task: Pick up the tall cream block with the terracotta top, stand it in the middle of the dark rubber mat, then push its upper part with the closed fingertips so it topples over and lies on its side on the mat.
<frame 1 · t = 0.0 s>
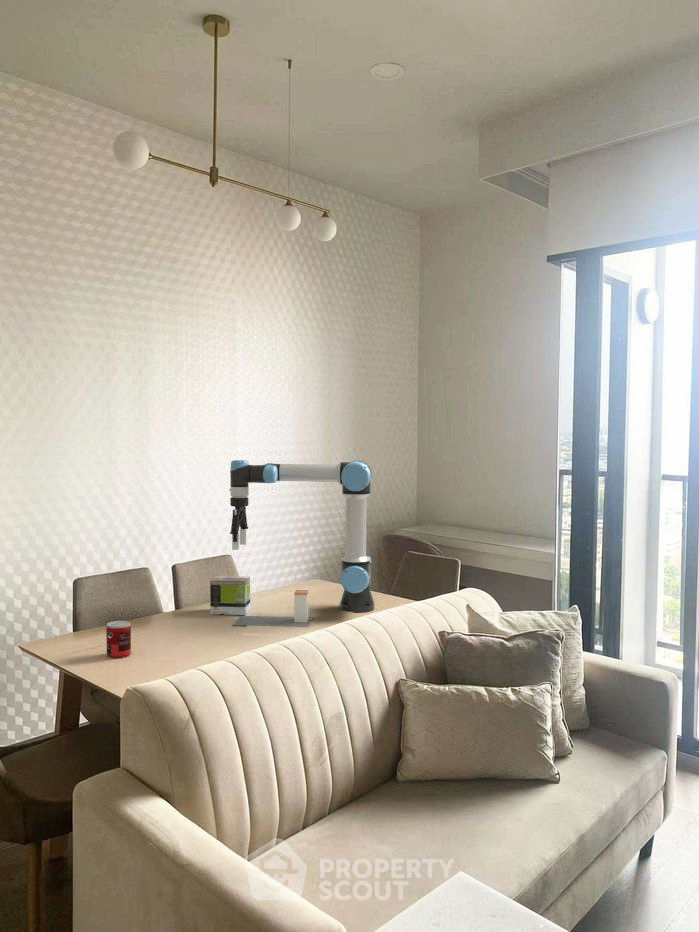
hand: (239, 547, 303), 28 cm above the table, tool pointing down, fingers open, 13 cm apart
cream block: (301, 620, 290), resting on rubber mat
tea box: (230, 612, 305), on the table
rubber mat: (273, 622, 289), on the table
canned food: (118, 655, 246), on the table
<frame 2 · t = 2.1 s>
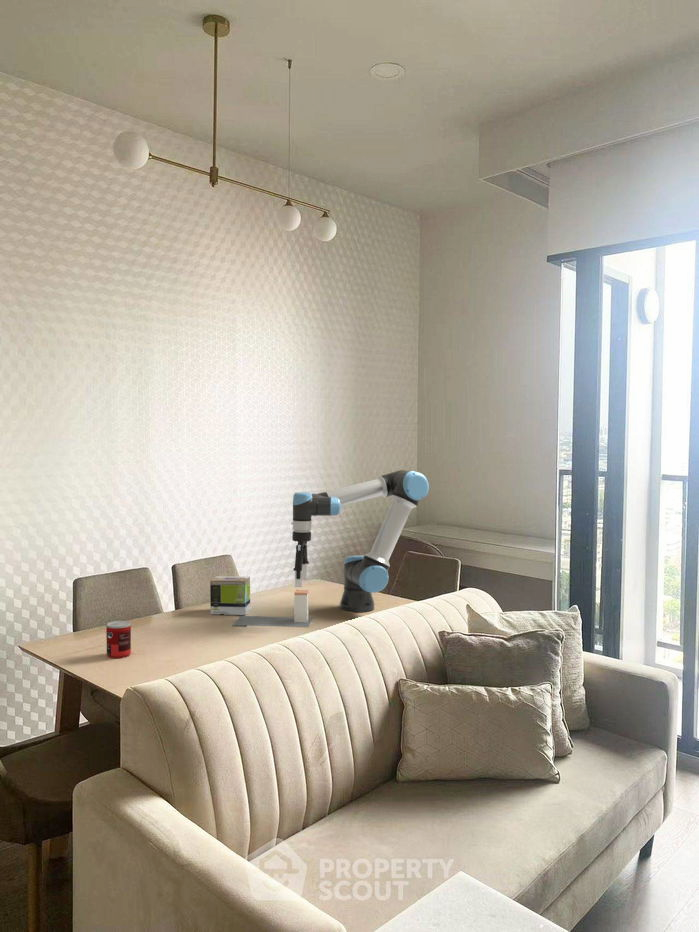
hand: (300, 583, 290), 16 cm above the table, tool pointing down, fingers open, 13 cm apart
nothing on the table moved.
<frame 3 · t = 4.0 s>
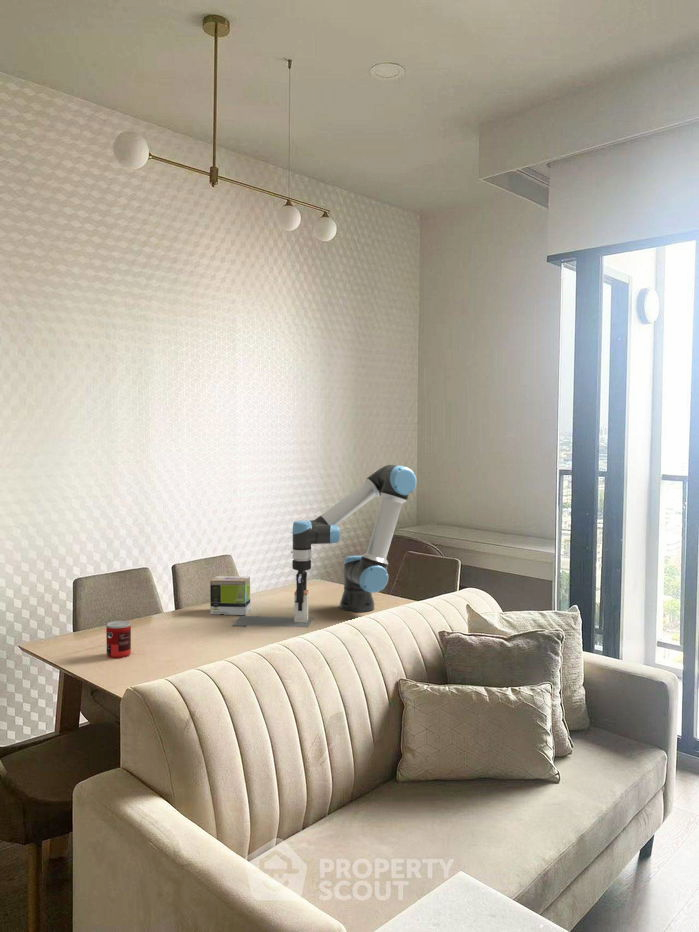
hand: (301, 616, 290), 2 cm above the table, tool pointing down, fingers closed on cream block, 5 cm apart
cream block: (301, 620, 290), point 1 cm above the table, touching gripper, rubber mat
everything else where it was.
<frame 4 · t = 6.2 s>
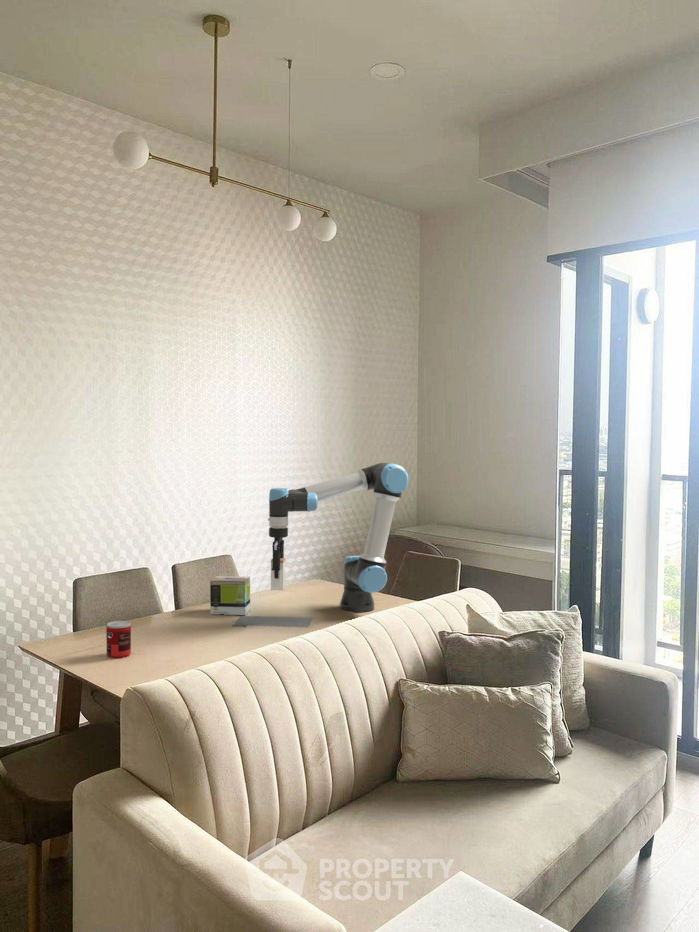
hand: (278, 584, 287), 16 cm above the table, tool pointing down, fingers closed on cream block, 5 cm apart
cream block: (278, 588, 287), point 14 cm above the table, touching gripper
everything else where it was.
when the fingers open (3 cm above the table, at t = 8.6 s): cream block stays where it is, resting on rubber mat.
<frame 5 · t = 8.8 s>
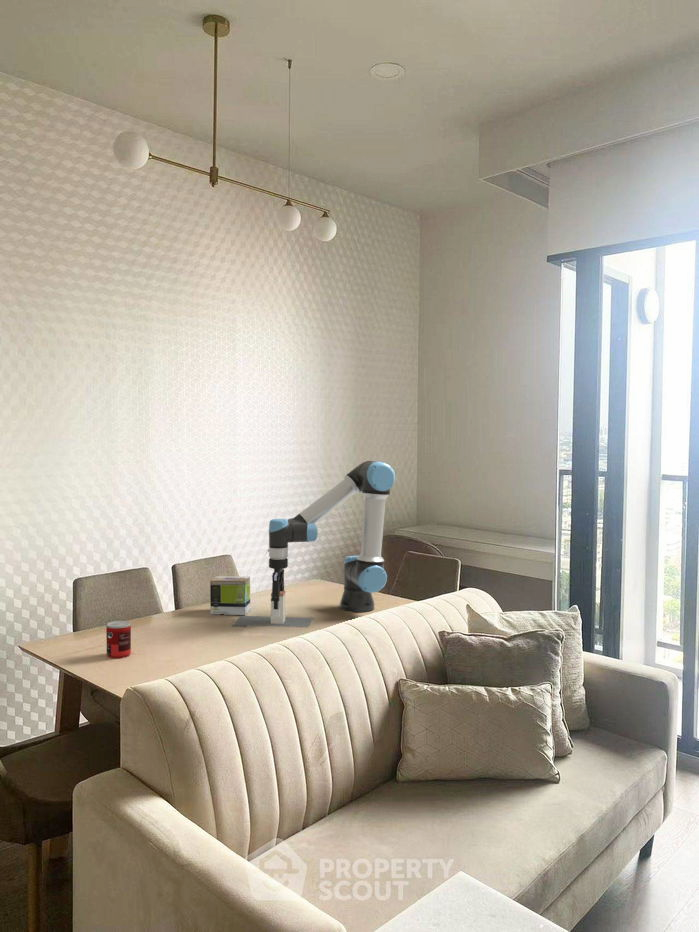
hand: (278, 614, 288), 4 cm above the table, tool pointing down, fingers open, 8 cm apart
cream block: (278, 622, 288), resting on rubber mat
everything else where it was.
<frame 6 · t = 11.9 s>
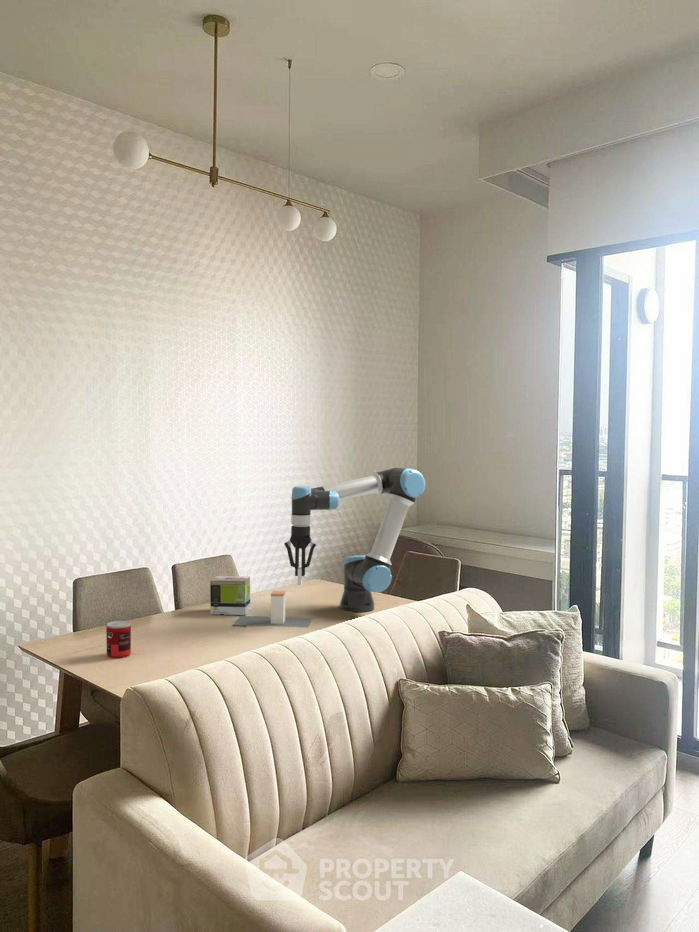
hand: (299, 584, 287), 16 cm above the table, tool pointing down, fingers closed
nothing on the table moved.
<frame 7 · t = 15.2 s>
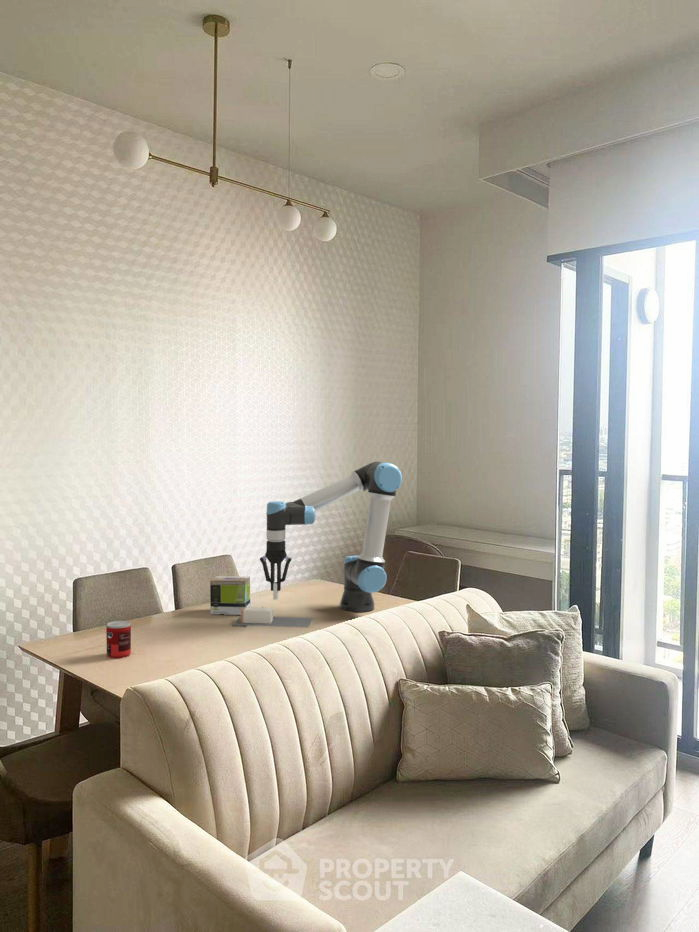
hand: (275, 598, 288), 10 cm above the table, tool pointing down, fingers closed
cream block: (271, 615, 288), point 3 cm above the table, tilted 90°, touching rubber mat
everything else where it was.
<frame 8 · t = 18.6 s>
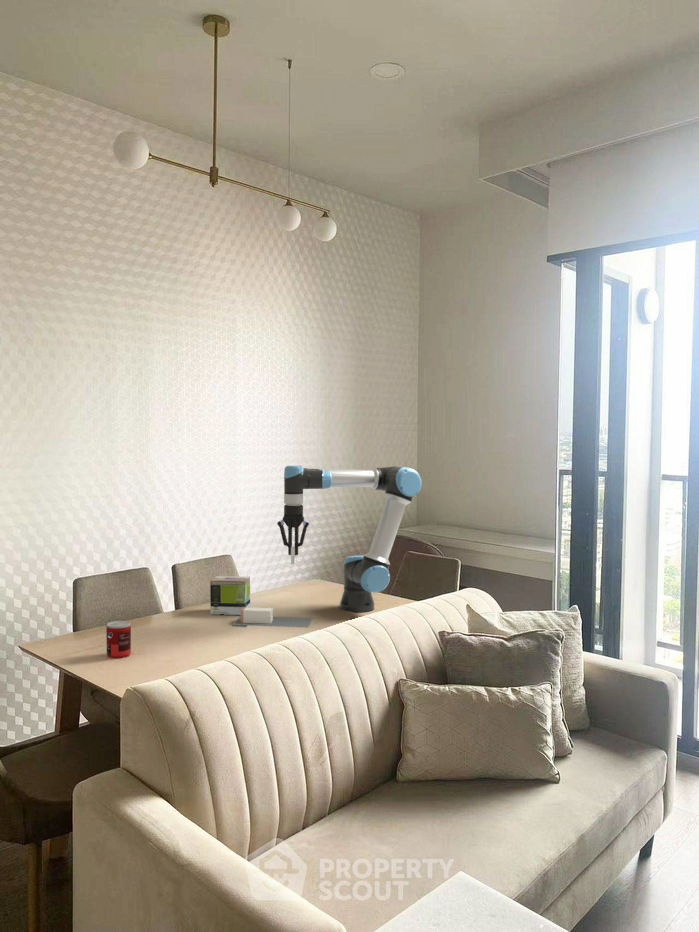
hand: (293, 563, 286), 24 cm above the table, tool pointing down, fingers closed
nothing on the table moved.
at the end: cream block tilted 90°; cream block inside the target area (5.6 cm from its centre), point 3.0 cm above the table; the gripper is holding nothing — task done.
